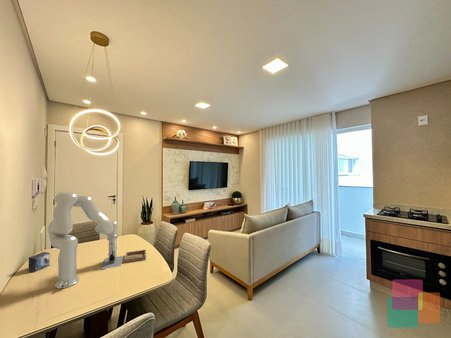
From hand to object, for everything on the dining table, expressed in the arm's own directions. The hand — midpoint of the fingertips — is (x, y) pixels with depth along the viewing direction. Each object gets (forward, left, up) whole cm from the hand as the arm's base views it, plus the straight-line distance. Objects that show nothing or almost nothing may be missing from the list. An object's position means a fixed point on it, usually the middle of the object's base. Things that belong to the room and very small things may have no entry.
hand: (112, 259), depth 159 cm
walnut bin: (+2, -17, -3) cm, 17 cm away
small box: (+11, +51, -3) cm, 52 cm away
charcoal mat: (0, 0, -3) cm, 3 cm away
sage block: (0, 0, -1) cm, 1 cm away
